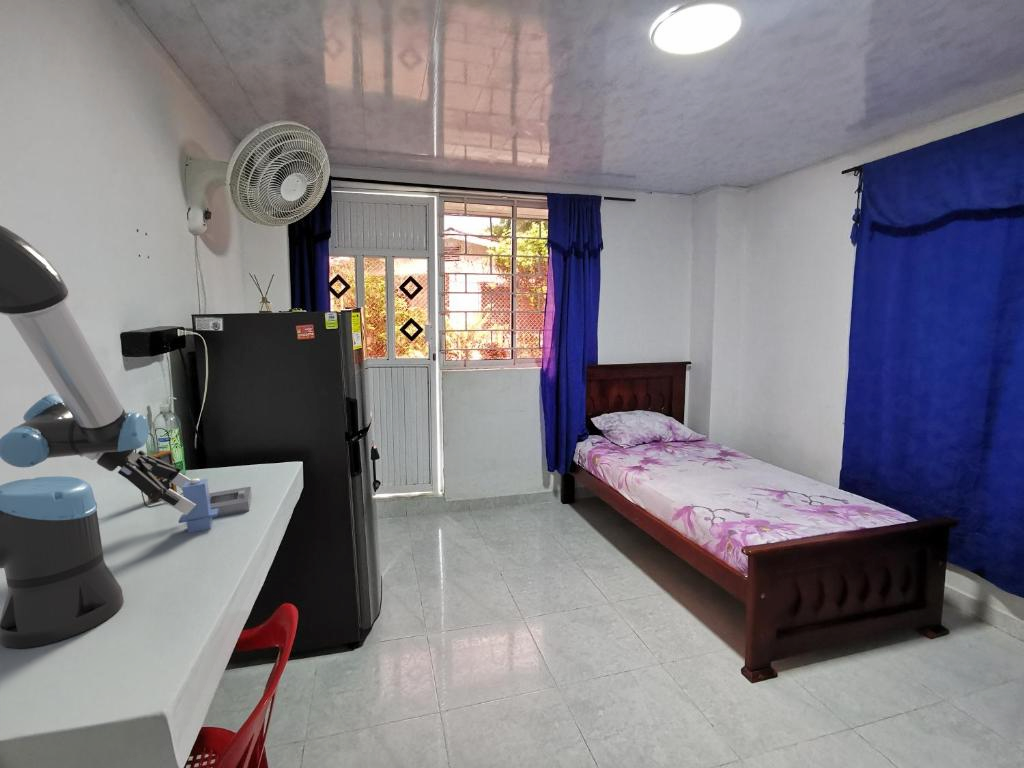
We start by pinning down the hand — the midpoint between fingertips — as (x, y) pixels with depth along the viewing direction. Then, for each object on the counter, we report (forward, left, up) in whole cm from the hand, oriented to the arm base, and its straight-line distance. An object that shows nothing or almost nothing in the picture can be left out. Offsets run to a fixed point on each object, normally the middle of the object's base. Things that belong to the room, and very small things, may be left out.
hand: (195, 500), depth 119 cm
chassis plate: (+12, -5, -6) cm, 14 cm away
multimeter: (+29, +9, -7) cm, 31 cm away
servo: (-1, -1, -6) cm, 7 cm away
